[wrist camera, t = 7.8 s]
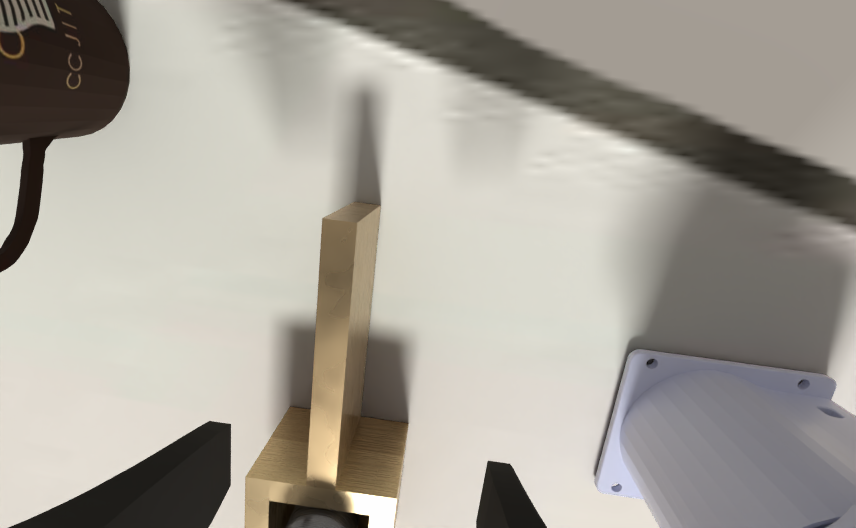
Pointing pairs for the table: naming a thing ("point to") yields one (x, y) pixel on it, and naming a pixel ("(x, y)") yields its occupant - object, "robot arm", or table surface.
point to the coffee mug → (54, 89)
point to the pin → (321, 518)
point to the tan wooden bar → (334, 400)
